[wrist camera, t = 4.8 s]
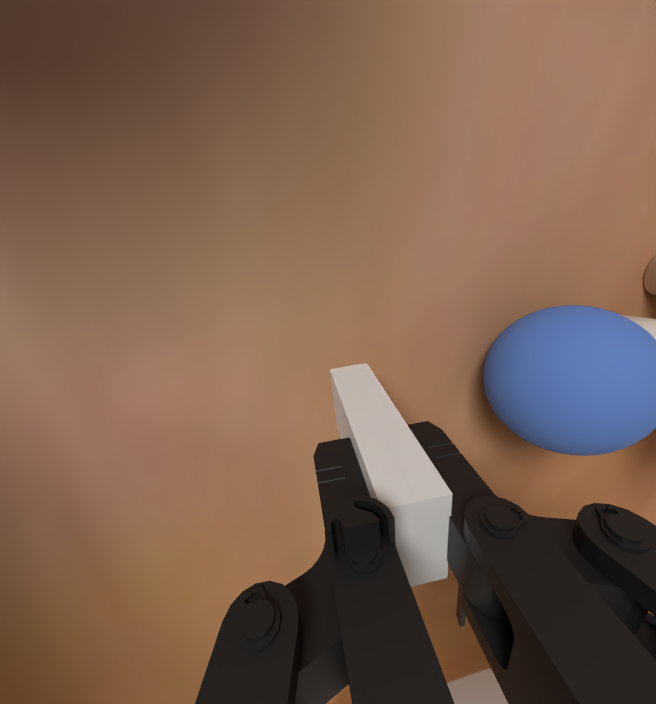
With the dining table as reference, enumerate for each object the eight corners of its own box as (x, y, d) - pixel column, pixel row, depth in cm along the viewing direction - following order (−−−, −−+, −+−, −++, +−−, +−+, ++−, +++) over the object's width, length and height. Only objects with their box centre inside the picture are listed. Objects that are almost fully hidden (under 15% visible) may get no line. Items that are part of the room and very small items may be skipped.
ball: (649, 436, 13) (504, 387, 18) (711, 303, 11) (526, 284, 15) (623, 523, 10) (450, 437, 14) (704, 358, 8) (466, 313, 12)
